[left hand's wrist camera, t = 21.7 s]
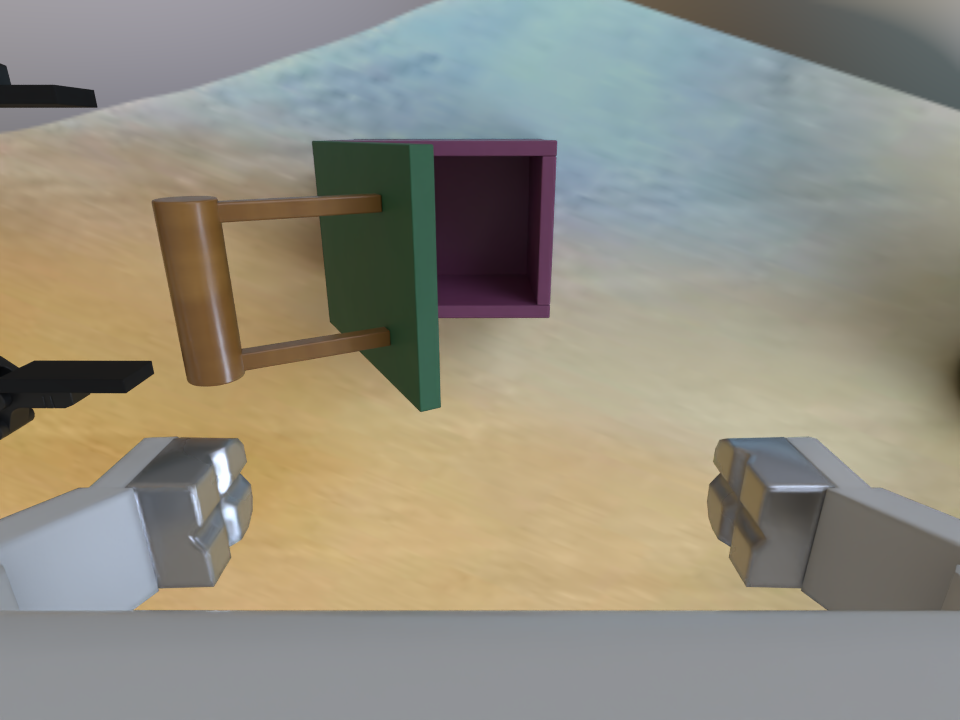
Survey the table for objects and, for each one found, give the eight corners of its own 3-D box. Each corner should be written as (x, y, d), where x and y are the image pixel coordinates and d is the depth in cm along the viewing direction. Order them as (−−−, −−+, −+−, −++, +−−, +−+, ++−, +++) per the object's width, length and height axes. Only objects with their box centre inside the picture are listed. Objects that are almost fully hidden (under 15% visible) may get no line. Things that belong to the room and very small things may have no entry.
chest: (541, 139, 41) (557, 140, 32) (536, 282, 44) (549, 318, 36) (355, 139, 41) (322, 140, 32) (366, 283, 44) (339, 318, 36)
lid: (433, 144, 20) (139, 147, 16) (441, 407, 24) (203, 462, 20) (329, 140, 32) (140, 142, 28) (345, 319, 35) (181, 343, 31)
